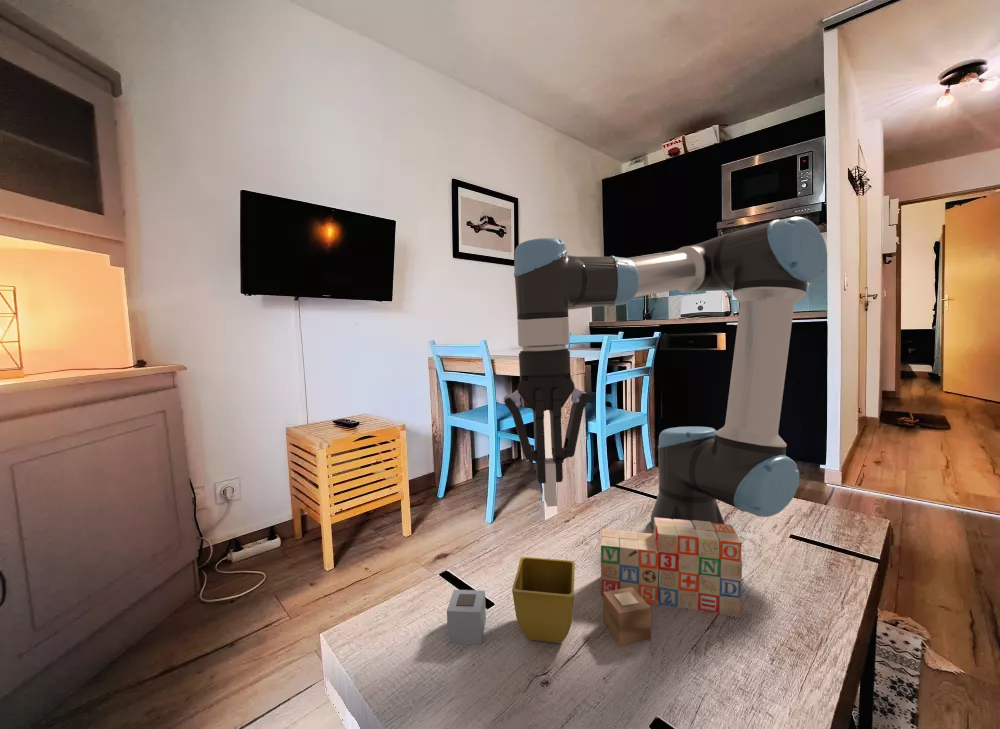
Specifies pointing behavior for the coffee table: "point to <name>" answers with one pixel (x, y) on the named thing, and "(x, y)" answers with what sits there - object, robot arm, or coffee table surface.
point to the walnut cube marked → (627, 616)
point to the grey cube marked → (466, 616)
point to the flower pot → (544, 598)
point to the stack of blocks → (676, 564)
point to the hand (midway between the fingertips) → (550, 502)
